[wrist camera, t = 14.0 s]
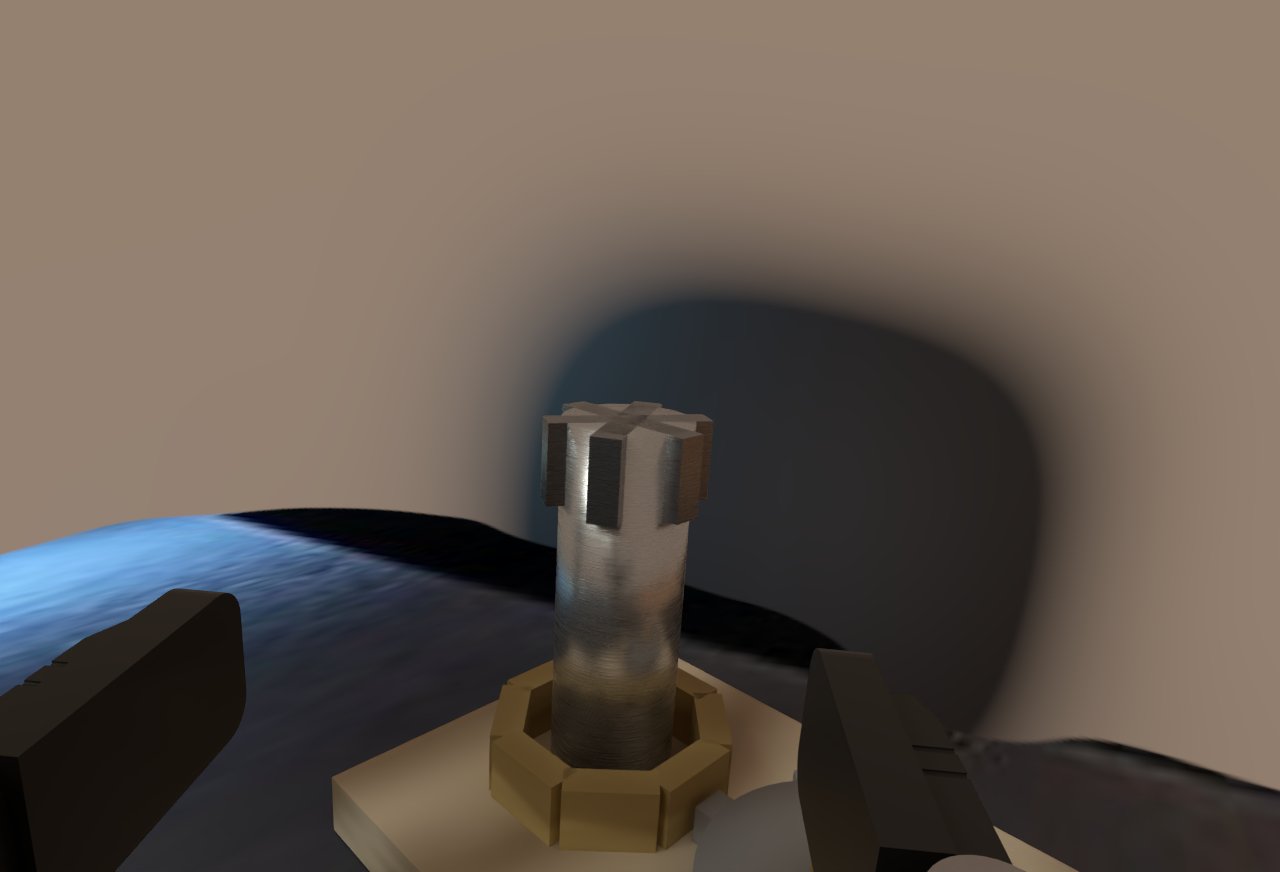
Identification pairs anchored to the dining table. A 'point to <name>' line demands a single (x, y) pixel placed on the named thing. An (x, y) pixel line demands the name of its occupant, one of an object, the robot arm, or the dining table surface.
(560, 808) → the gear board
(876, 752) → the robot arm
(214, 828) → the dining table surface
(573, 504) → the pinion shaft
